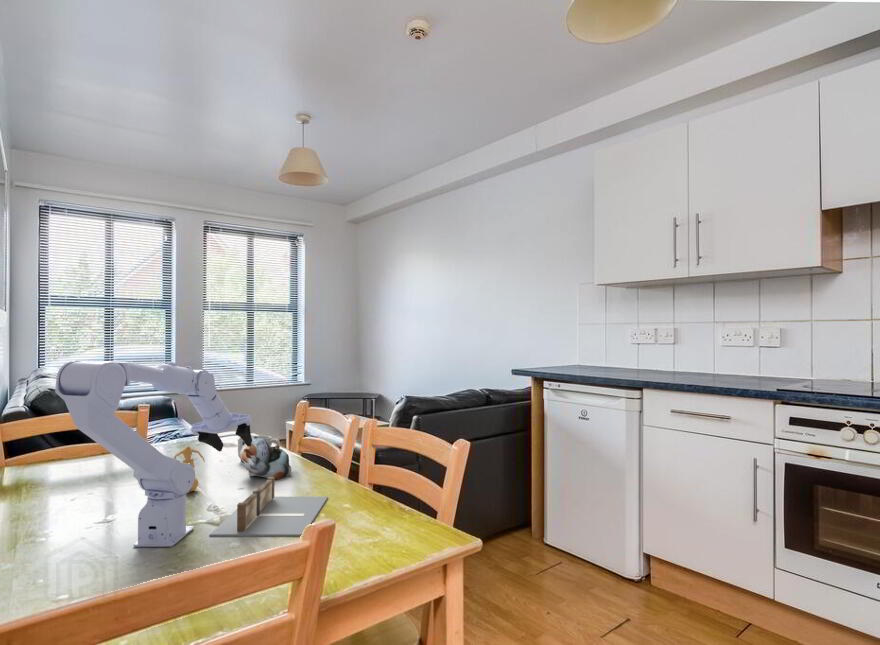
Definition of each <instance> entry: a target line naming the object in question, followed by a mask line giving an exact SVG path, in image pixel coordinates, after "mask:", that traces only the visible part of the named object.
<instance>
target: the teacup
mask: <svg viewBox="0 0 880 645" xmlns="http://www.w3.org/2000/svg"><path fill="white" fill-rule="evenodd" d="M253 436H254V435H251V437H253ZM255 436H256V437H257V439H259V438H261V439H265V440H266V441H267V443H268V445H269V447H272V445H273V443H275V444H276V445H278V446H279V448H280V447H281V441H280V440H279V439H277V438H273V437H272V436H271V435H265V434H264V435H261V434H260V435H255ZM242 443H243V440H242V438H240V437H238V438H237V456H238V458H239V459H240V460H241V456H240V452H241V450H242V447H243V444H242Z"/></svg>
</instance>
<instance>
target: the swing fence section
mask: <svg viewBox="0 0 880 645" xmlns="http://www.w3.org/2000/svg"><path fill="white" fill-rule="evenodd" d="M256 490H260V511H261V510H262V509H263V508H264V507H265V506H266V505H267V504H268V503H269V502H270V501H271V500H272V499H273V498H274V497H275V479H274V477H269V478H267V480H266V481H264V483H262V484H261V485H260V486H259V487H257V489H256Z"/></svg>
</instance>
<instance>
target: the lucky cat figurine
mask: <svg viewBox="0 0 880 645" xmlns="http://www.w3.org/2000/svg"><path fill="white" fill-rule="evenodd" d="M252 436H253V437H252V443H251V446H247V445H246V444H245V442H244V441H243V443H242V444H243V447H242V450H241V452H240V456H241V459H240V463H241V465H242V466H243V467H244V468H245V470H246V471H248V476H249V477H261V478H267V479H268V478H269V477H274V480H277V481H278V480H280V479H285V478H286V477H287V476H288V475H290V474H291V473H292V466H291V465H290V456H289V454H288V453H287V452H286V451H285V450H284V449H282V448H280V447H279V446H278V445H277V444H275V445H274V446H271V447H269V445H268V443H267V441H266V440H265V439H261V438H259V439H257V437H256V436H257V435H252Z"/></svg>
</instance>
